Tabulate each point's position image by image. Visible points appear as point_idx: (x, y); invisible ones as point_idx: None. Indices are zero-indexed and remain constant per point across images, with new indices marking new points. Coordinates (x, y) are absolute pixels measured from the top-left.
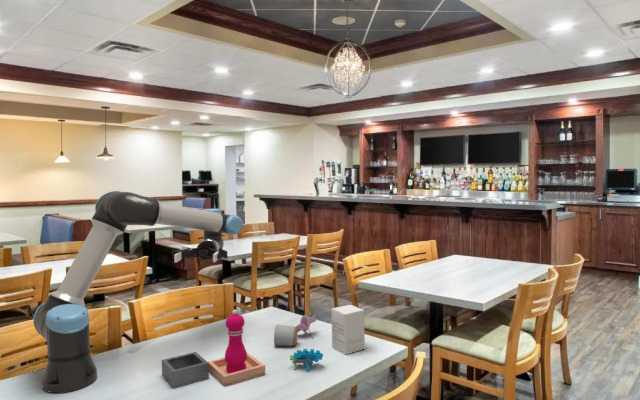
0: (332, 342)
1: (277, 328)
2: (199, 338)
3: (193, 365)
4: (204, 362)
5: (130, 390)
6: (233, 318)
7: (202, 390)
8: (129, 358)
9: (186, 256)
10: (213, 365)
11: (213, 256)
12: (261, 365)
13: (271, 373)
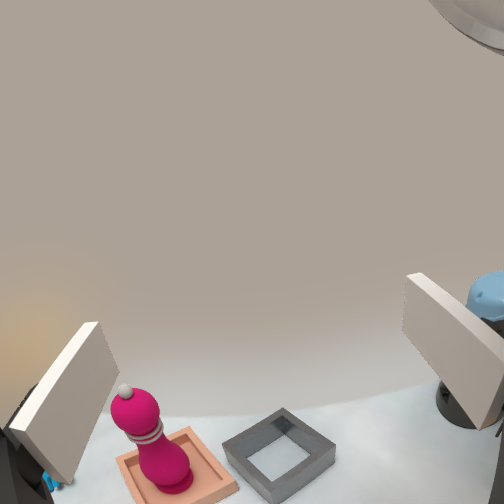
0: None
1: None
2: None
3: (250, 432)
4: (230, 444)
5: (356, 410)
6: (134, 388)
7: (230, 425)
8: (465, 498)
9: (494, 495)
10: (217, 464)
11: (100, 334)
12: (121, 458)
13: (111, 469)
